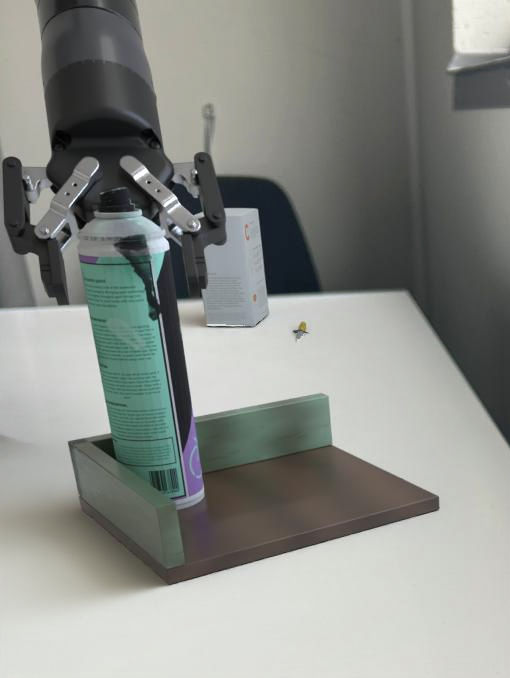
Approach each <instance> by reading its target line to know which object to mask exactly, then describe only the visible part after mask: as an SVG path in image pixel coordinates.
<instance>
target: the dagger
mask: <svg viewBox="0 0 510 678" xmlns="http://www.w3.org/2000/svg"><path fill="white" fill-rule="evenodd" d="M305 330H306V331H305ZM292 333H294V334H296V333H297V334H296V336H295V339H296V338H297V339H300V338H301V336H303V334H304V333H309V332H308V331H307V323H306V322H305V321H301V322H300V323H299V325H298V329H293V330H292Z"/></svg>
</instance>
